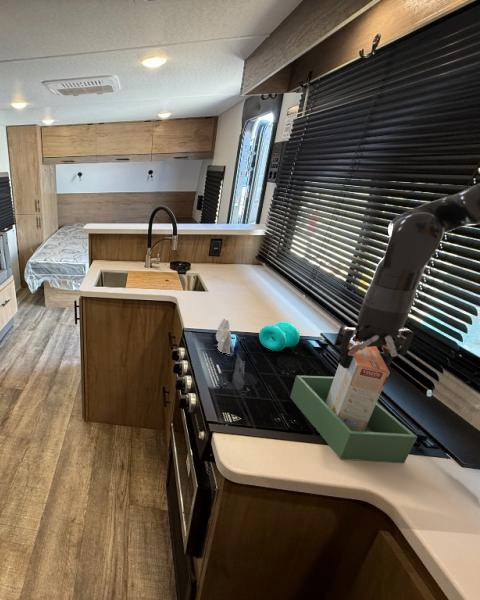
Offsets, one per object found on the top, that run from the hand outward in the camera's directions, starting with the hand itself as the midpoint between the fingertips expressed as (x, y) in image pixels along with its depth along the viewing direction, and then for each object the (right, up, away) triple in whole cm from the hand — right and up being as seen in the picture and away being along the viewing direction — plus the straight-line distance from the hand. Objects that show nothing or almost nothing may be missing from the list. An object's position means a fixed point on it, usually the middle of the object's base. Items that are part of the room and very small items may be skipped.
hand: (362, 367), depth 73 cm
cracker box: (0, -16, +6) cm, 17 cm away
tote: (0, -17, +7) cm, 18 cm away
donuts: (+7, -2, +44) cm, 44 cm away
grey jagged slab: (-27, +13, +84) cm, 89 cm away
